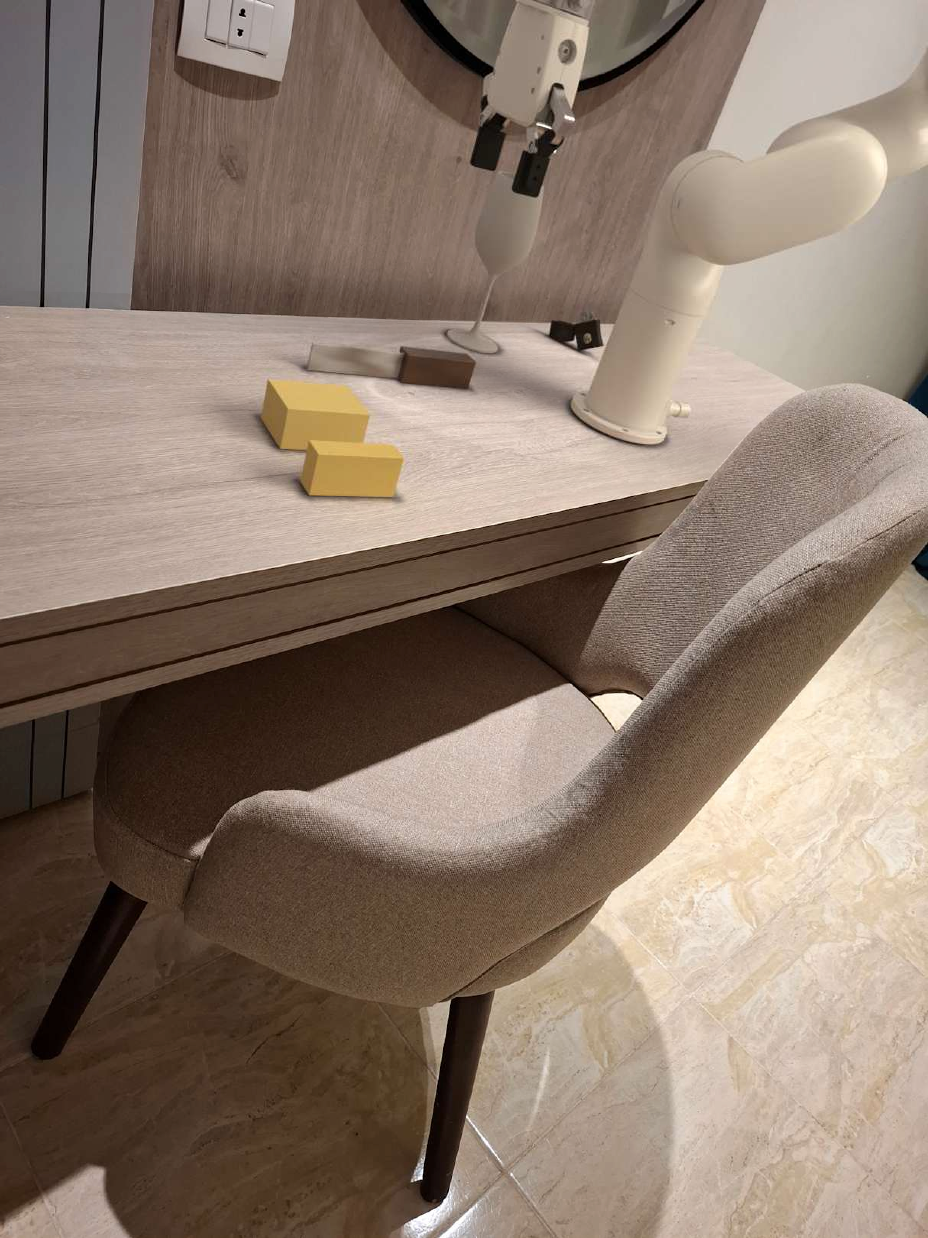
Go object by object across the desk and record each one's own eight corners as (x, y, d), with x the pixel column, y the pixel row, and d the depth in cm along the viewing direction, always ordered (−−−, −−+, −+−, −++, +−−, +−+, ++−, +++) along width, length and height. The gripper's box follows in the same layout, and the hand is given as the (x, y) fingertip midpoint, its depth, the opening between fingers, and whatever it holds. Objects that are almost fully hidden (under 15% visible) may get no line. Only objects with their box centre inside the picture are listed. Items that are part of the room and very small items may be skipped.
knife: (459, 380, 110) (467, 353, 108) (468, 388, 108) (476, 362, 106) (303, 364, 99) (309, 334, 97) (310, 374, 98) (317, 344, 96)
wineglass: (494, 358, 120) (547, 193, 109) (440, 339, 120) (487, 172, 109) (502, 343, 126) (553, 186, 115) (451, 325, 126) (497, 166, 115)
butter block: (338, 423, 90) (347, 385, 87) (360, 452, 86) (370, 414, 83) (260, 417, 85) (267, 378, 83) (280, 449, 81) (287, 408, 79)
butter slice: (383, 483, 82) (394, 444, 80) (393, 497, 80) (404, 457, 78) (299, 481, 78) (308, 439, 76) (308, 495, 76) (318, 453, 74)
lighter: (550, 356, 136) (544, 320, 135) (556, 354, 138) (550, 319, 137) (598, 347, 132) (592, 310, 130) (604, 345, 133) (598, 309, 132)
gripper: (634, 24, 85) (571, 212, 94) (543, -5, 96) (494, 165, 106) (571, -1, 81) (511, 198, 90) (484, -28, 92) (439, 151, 102)
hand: (502, 180), depth 98 cm, fingers open, 9 cm apart
